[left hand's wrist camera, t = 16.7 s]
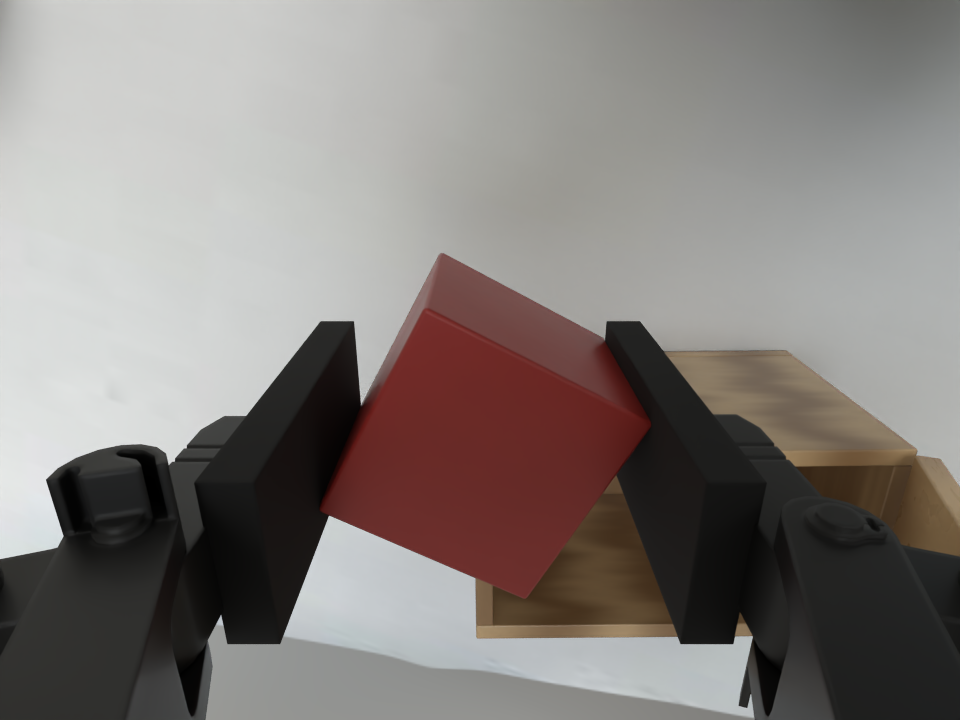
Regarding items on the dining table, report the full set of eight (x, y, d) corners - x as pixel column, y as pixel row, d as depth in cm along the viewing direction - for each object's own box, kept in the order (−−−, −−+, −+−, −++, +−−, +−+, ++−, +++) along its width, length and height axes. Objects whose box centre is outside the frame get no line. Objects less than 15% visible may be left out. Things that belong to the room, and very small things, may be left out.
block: (360, 405, 15) (316, 512, 11) (440, 251, 13) (423, 306, 9) (514, 477, 15) (526, 602, 11) (605, 338, 14) (654, 424, 10)
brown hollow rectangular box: (477, 498, 37) (476, 638, 27) (475, 353, 34) (473, 453, 23) (758, 495, 37) (863, 635, 27) (787, 350, 34) (918, 449, 23)
